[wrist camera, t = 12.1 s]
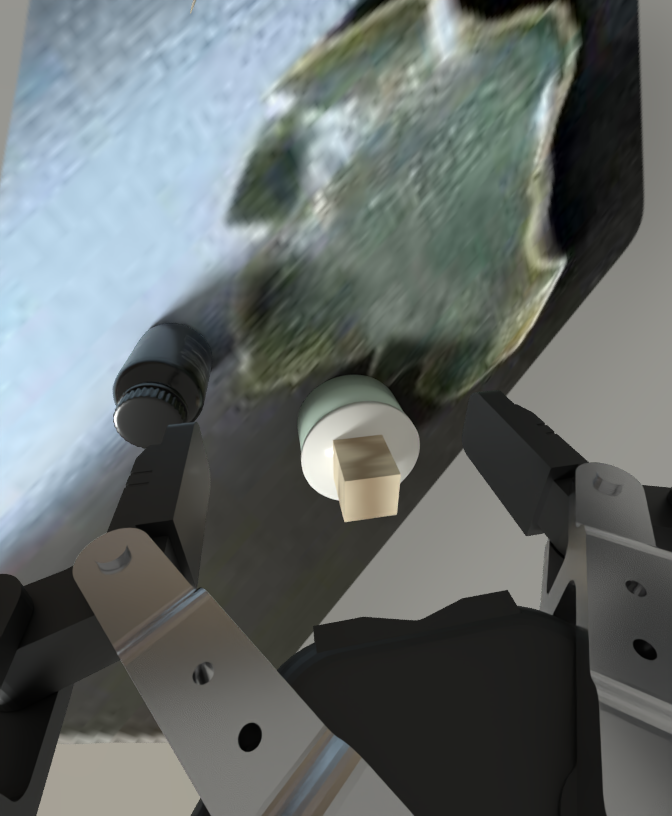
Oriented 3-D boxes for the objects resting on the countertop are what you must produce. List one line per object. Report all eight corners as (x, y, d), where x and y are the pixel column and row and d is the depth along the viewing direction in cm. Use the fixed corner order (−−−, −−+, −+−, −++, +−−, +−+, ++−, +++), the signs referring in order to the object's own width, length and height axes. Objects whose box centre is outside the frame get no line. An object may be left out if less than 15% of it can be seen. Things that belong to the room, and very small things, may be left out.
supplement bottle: (131, 321, 36) (84, 382, 26) (208, 320, 37) (192, 378, 27) (146, 387, 40) (110, 463, 29) (216, 384, 41) (204, 457, 31)
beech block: (382, 434, 39) (400, 474, 34) (379, 472, 42) (396, 514, 37) (332, 440, 39) (344, 481, 34) (333, 478, 41) (344, 522, 36)
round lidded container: (405, 370, 44) (428, 401, 38) (392, 457, 51) (410, 495, 45) (294, 374, 42) (301, 408, 36) (295, 464, 48) (301, 506, 43)
